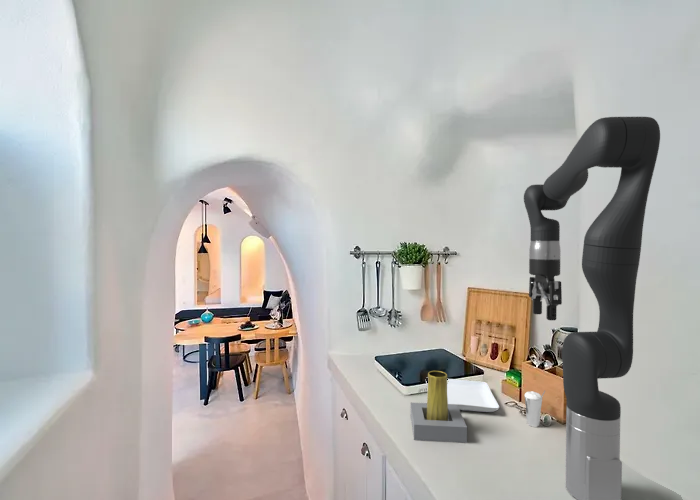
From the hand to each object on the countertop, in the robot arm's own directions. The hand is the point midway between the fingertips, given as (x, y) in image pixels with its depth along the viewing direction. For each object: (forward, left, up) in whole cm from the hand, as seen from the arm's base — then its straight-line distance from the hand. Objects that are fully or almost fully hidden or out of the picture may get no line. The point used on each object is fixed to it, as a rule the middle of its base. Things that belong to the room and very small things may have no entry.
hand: (544, 316), depth 101 cm
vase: (-2, +29, -30) cm, 42 cm away
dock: (-2, +29, -31) cm, 43 cm away
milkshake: (+3, +1, -32) cm, 32 cm away
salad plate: (+18, +19, -32) cm, 41 cm away
